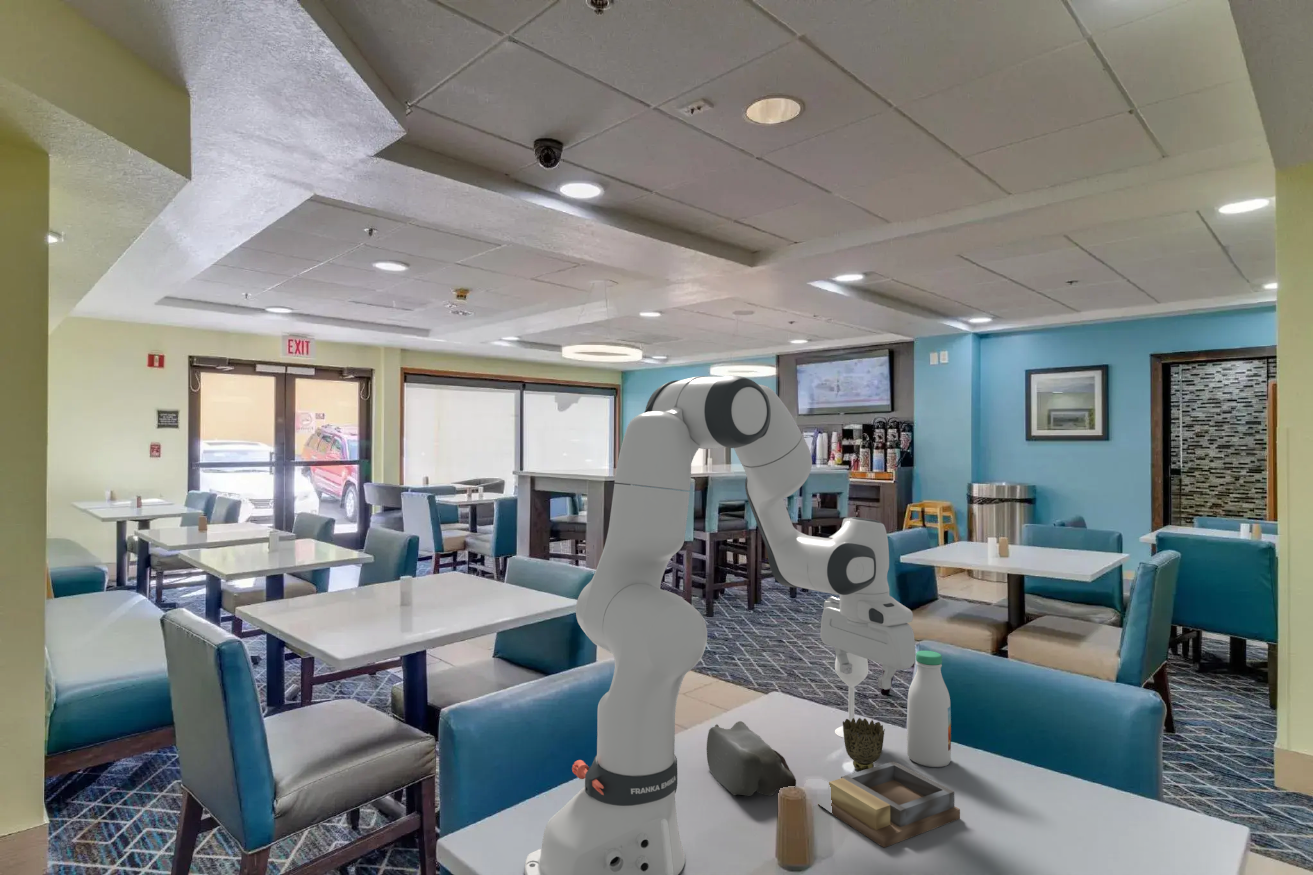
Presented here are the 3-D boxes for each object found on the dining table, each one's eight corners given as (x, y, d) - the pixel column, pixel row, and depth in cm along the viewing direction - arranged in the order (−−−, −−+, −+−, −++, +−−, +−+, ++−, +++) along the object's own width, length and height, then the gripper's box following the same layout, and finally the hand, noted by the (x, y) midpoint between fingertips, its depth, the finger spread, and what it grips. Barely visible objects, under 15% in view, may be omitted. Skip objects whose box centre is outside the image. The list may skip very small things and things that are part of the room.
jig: (884, 847, 103) (884, 816, 103) (818, 805, 115) (818, 777, 115) (959, 818, 111) (960, 790, 111) (890, 781, 123) (891, 756, 123)
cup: (886, 780, 124) (886, 734, 124) (843, 775, 125) (844, 731, 125) (881, 761, 131) (882, 719, 131) (841, 758, 132) (841, 715, 133)
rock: (806, 800, 117) (806, 752, 117) (746, 811, 113) (746, 762, 113) (754, 755, 134) (754, 713, 134) (700, 764, 130) (700, 721, 130)
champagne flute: (828, 728, 147) (828, 613, 147) (856, 725, 149) (856, 611, 149) (846, 741, 140) (846, 621, 141) (875, 737, 142) (875, 619, 143)
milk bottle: (944, 772, 127) (944, 661, 127) (901, 760, 132) (901, 654, 132) (955, 757, 133) (955, 652, 133) (914, 747, 138) (914, 645, 138)
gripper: (812, 596, 136) (812, 667, 136) (895, 618, 118) (895, 700, 118) (836, 592, 139) (837, 662, 139) (920, 614, 121) (921, 694, 121)
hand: (864, 680), depth 129 cm, fingers open, 8 cm apart
